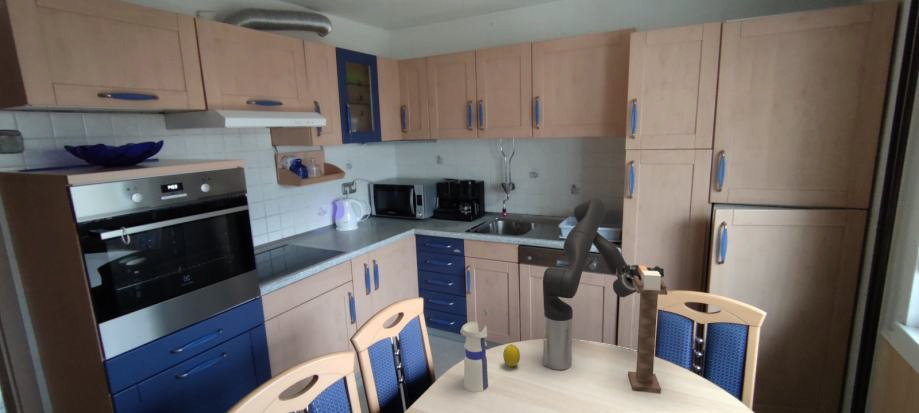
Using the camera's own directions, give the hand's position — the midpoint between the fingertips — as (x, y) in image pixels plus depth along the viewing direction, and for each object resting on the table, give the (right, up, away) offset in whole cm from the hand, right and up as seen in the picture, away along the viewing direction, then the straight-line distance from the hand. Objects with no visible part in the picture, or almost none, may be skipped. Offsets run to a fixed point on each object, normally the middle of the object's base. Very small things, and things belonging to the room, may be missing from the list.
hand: (643, 268), depth 134 cm
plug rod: (-1, -3, -5) cm, 6 cm away
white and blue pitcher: (-53, -36, -1) cm, 64 cm away
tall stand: (-1, -35, -3) cm, 35 cm away
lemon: (-41, -34, +8) cm, 54 cm away
